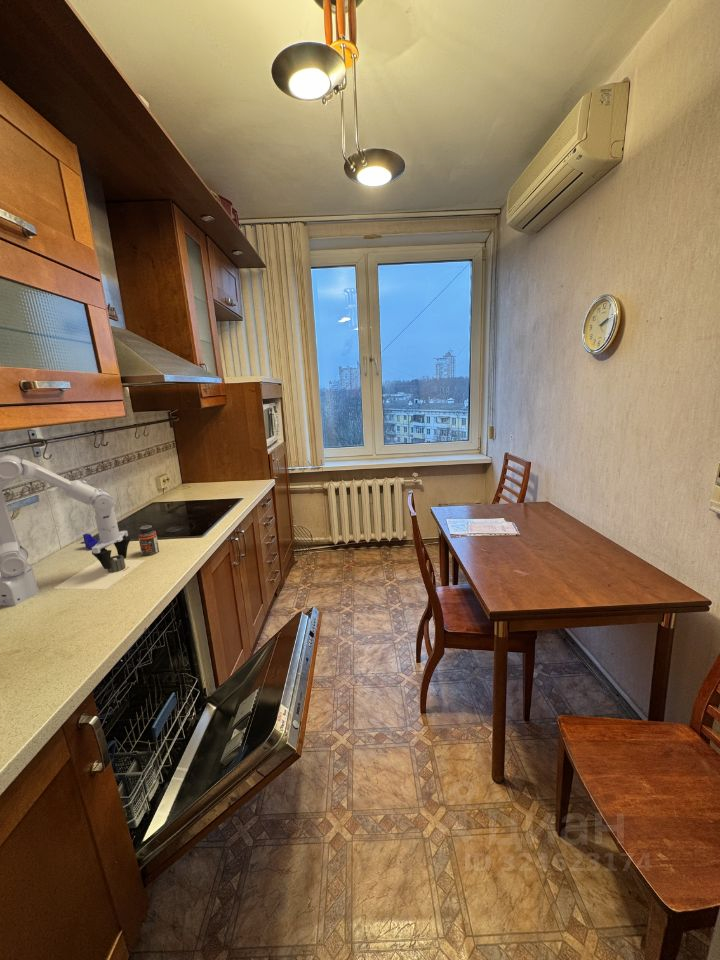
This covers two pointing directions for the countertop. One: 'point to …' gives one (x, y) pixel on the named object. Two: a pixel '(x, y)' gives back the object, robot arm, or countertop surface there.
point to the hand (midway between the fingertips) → (115, 563)
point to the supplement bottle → (148, 541)
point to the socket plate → (97, 576)
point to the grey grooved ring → (117, 564)
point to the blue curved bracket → (89, 541)
